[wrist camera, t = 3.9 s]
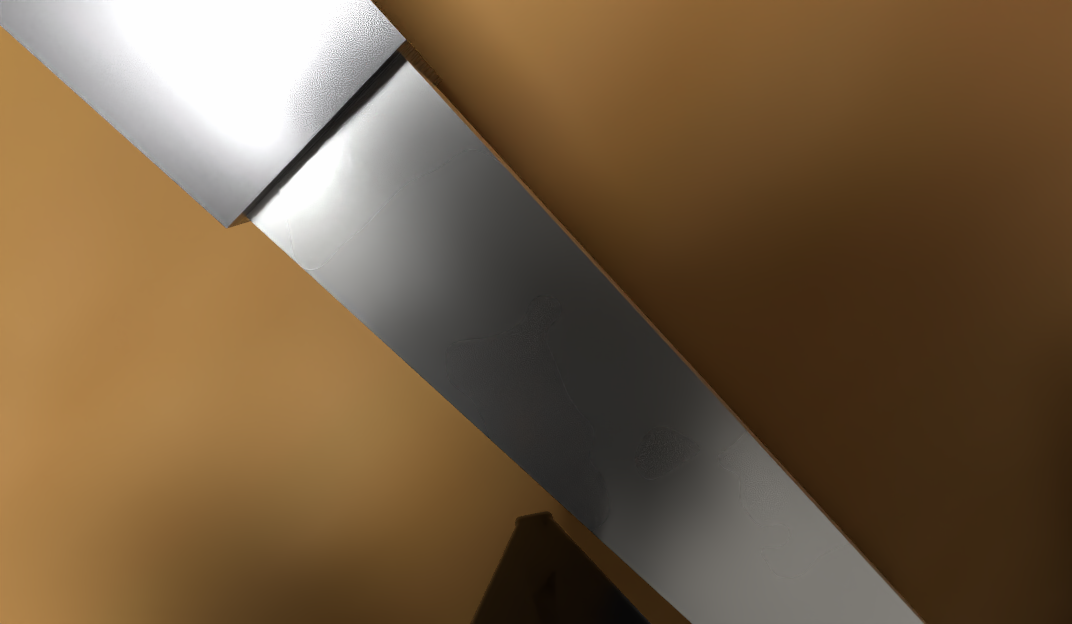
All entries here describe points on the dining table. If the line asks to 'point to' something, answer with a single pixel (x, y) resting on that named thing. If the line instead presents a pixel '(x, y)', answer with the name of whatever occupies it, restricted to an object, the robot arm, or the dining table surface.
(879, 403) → the dining table surface
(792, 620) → the tong leg
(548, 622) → the robot arm
